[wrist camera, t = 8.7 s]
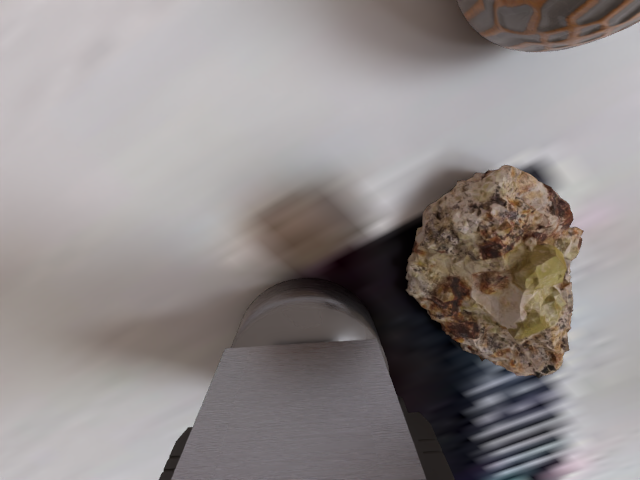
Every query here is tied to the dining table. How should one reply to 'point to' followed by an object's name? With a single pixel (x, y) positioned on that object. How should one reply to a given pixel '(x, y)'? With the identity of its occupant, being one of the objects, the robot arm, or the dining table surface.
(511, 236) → the mineral rock
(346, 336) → the ratchet
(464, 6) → the vase
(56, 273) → the dining table surface
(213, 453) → the domed steel cube
